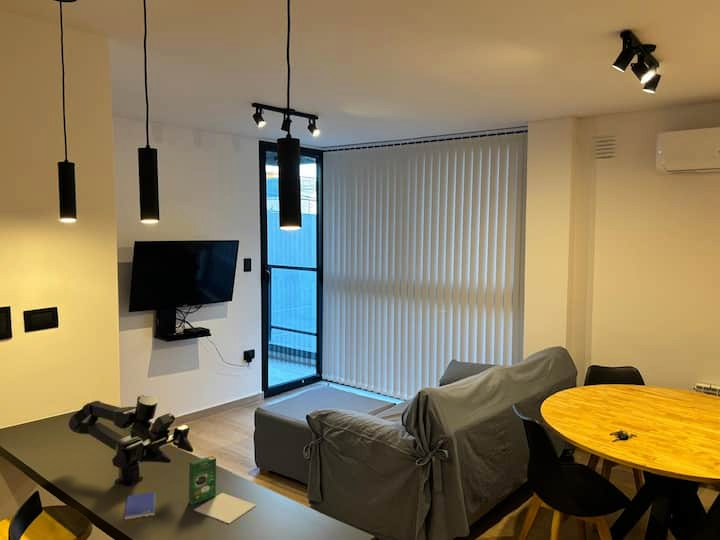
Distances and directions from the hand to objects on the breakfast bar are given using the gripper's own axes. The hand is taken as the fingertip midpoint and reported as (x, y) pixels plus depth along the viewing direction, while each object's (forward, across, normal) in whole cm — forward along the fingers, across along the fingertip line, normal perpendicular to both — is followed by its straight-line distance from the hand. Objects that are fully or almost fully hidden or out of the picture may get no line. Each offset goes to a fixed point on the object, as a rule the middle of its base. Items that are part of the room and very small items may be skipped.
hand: (181, 456), depth 172 cm
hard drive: (-3, -9, +17) cm, 19 cm away
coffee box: (+9, +4, +12) cm, 16 cm away
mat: (+18, +4, +9) cm, 21 cm away
